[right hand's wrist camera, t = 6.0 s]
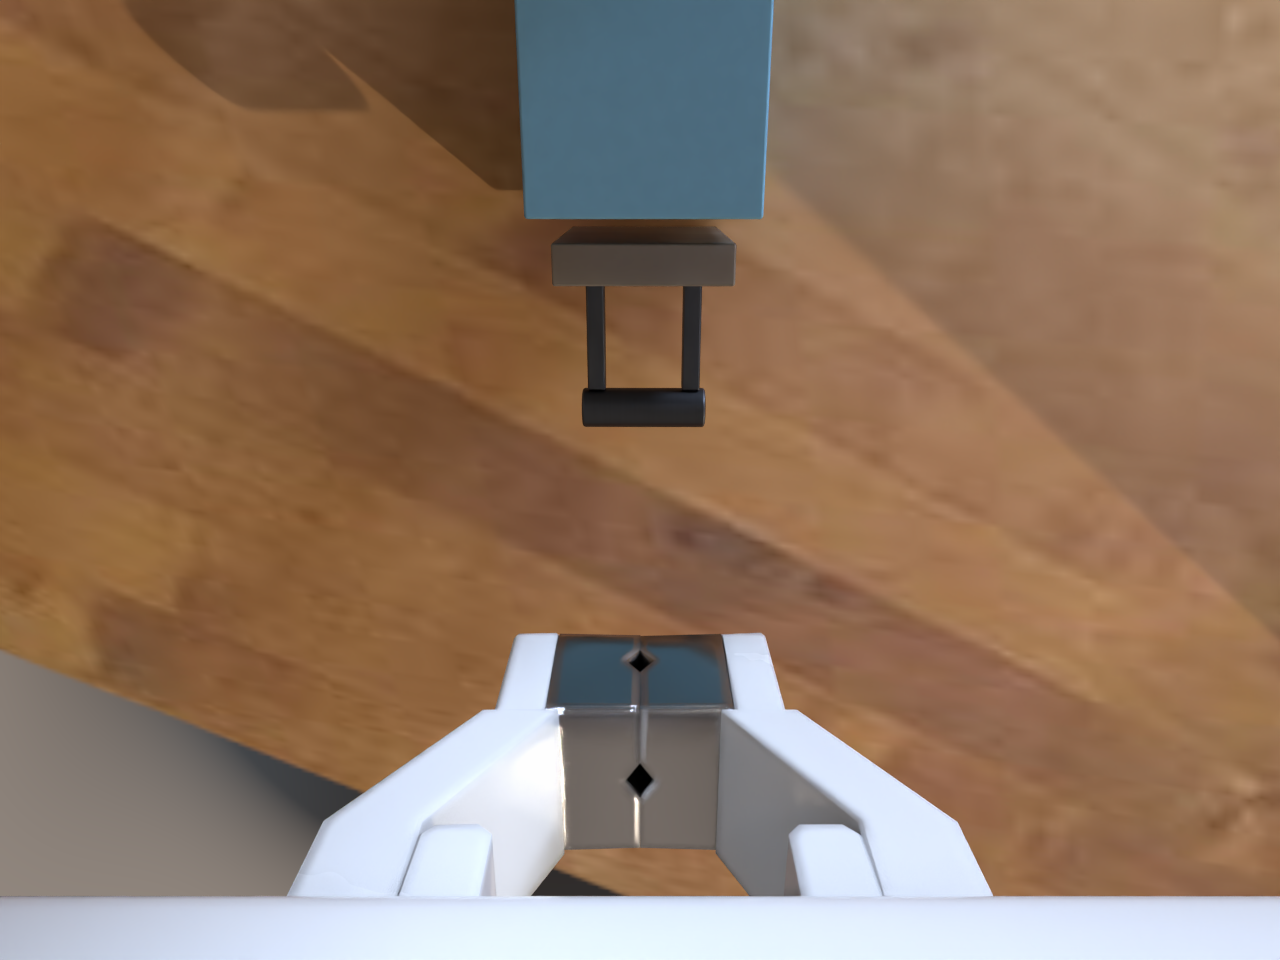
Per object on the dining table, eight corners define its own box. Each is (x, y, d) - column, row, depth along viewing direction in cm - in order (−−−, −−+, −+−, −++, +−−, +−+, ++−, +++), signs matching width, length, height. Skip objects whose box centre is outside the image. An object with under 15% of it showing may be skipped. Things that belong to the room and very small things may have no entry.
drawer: (711, 399, 33) (728, 459, 26) (576, 398, 33) (558, 459, 26) (730, -227, 26) (760, -367, 19) (559, -226, 26) (528, -367, 19)
